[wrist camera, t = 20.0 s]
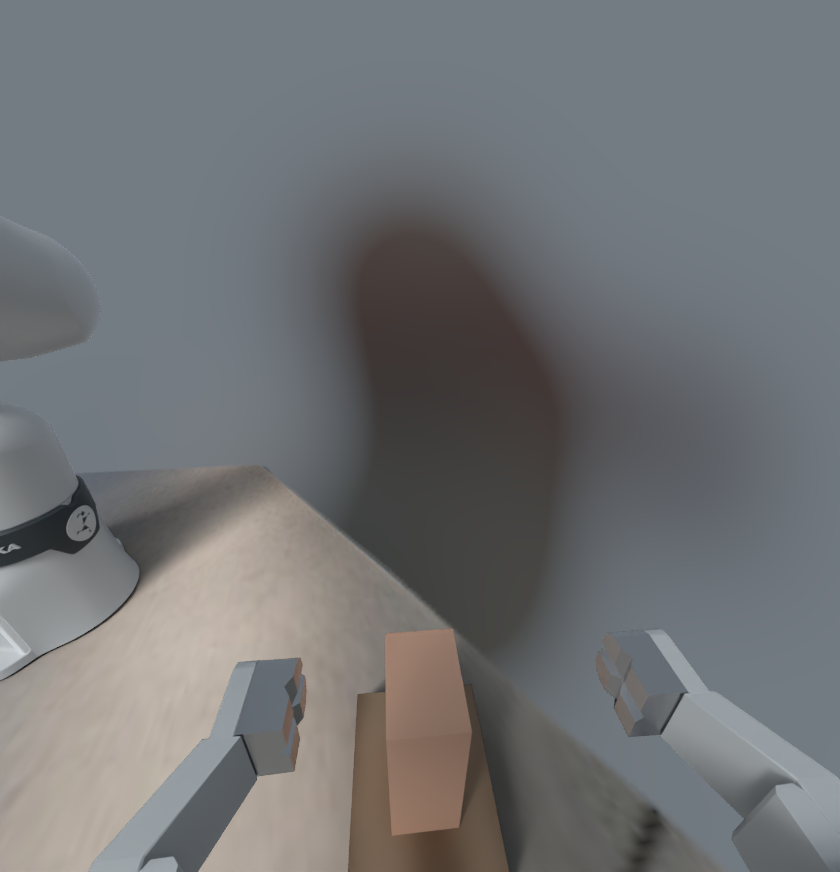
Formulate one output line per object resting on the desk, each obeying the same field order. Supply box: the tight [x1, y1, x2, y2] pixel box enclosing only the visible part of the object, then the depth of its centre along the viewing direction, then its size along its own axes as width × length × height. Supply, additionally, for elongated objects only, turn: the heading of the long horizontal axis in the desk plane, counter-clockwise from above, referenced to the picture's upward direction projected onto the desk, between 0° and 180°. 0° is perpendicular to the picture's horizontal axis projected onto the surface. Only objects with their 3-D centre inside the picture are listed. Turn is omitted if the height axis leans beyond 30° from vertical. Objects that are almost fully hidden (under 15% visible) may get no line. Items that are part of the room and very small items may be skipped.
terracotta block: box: [385, 628, 472, 836], centre depth 25 cm, size 4×6×12 cm
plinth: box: [348, 684, 509, 872], centre depth 28 cm, size 10×12×3 cm
